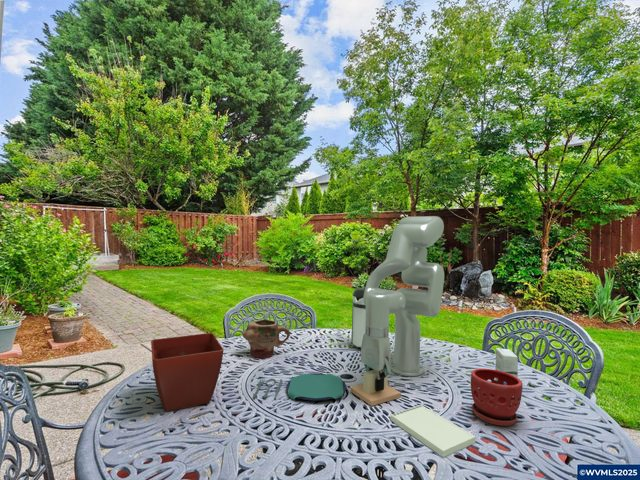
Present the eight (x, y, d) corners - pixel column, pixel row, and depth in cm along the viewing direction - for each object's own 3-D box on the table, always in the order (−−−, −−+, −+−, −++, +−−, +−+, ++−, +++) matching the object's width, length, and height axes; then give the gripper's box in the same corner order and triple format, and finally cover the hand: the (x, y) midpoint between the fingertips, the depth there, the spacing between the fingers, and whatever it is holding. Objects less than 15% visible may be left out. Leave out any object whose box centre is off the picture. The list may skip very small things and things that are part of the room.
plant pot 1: (150, 421, 90) (152, 359, 90) (149, 391, 107) (150, 339, 107) (223, 406, 99) (224, 349, 99) (211, 381, 116) (212, 332, 116)
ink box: (518, 391, 114) (519, 356, 114) (502, 389, 115) (503, 355, 115) (509, 380, 122) (510, 348, 122) (494, 379, 123) (495, 347, 123)
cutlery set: (348, 406, 101) (348, 398, 101) (249, 404, 102) (249, 397, 102) (344, 379, 121) (344, 372, 121) (262, 377, 122) (262, 371, 122)
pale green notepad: (390, 420, 94) (390, 414, 94) (420, 409, 100) (421, 404, 100) (443, 457, 78) (443, 450, 78) (475, 442, 84) (475, 436, 84)
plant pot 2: (520, 435, 88) (522, 390, 88) (466, 420, 95) (467, 378, 95) (521, 414, 99) (523, 373, 99) (473, 401, 106) (474, 363, 106)
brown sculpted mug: (288, 349, 151) (289, 318, 150) (290, 359, 138) (291, 325, 138) (243, 350, 148) (243, 318, 147) (240, 360, 136) (241, 326, 135)
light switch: (350, 391, 111) (350, 368, 110) (378, 383, 117) (378, 362, 117) (371, 406, 101) (372, 381, 101) (401, 397, 107) (401, 374, 107)
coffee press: (386, 353, 148) (388, 285, 147) (350, 352, 148) (351, 284, 147) (380, 341, 165) (381, 280, 165) (347, 340, 165) (348, 279, 165)
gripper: (352, 326, 114) (350, 380, 114) (385, 340, 100) (383, 401, 100) (369, 324, 118) (368, 376, 118) (403, 336, 103) (402, 396, 104)
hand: (375, 387), depth 109 cm, fingers open, 3 cm apart
